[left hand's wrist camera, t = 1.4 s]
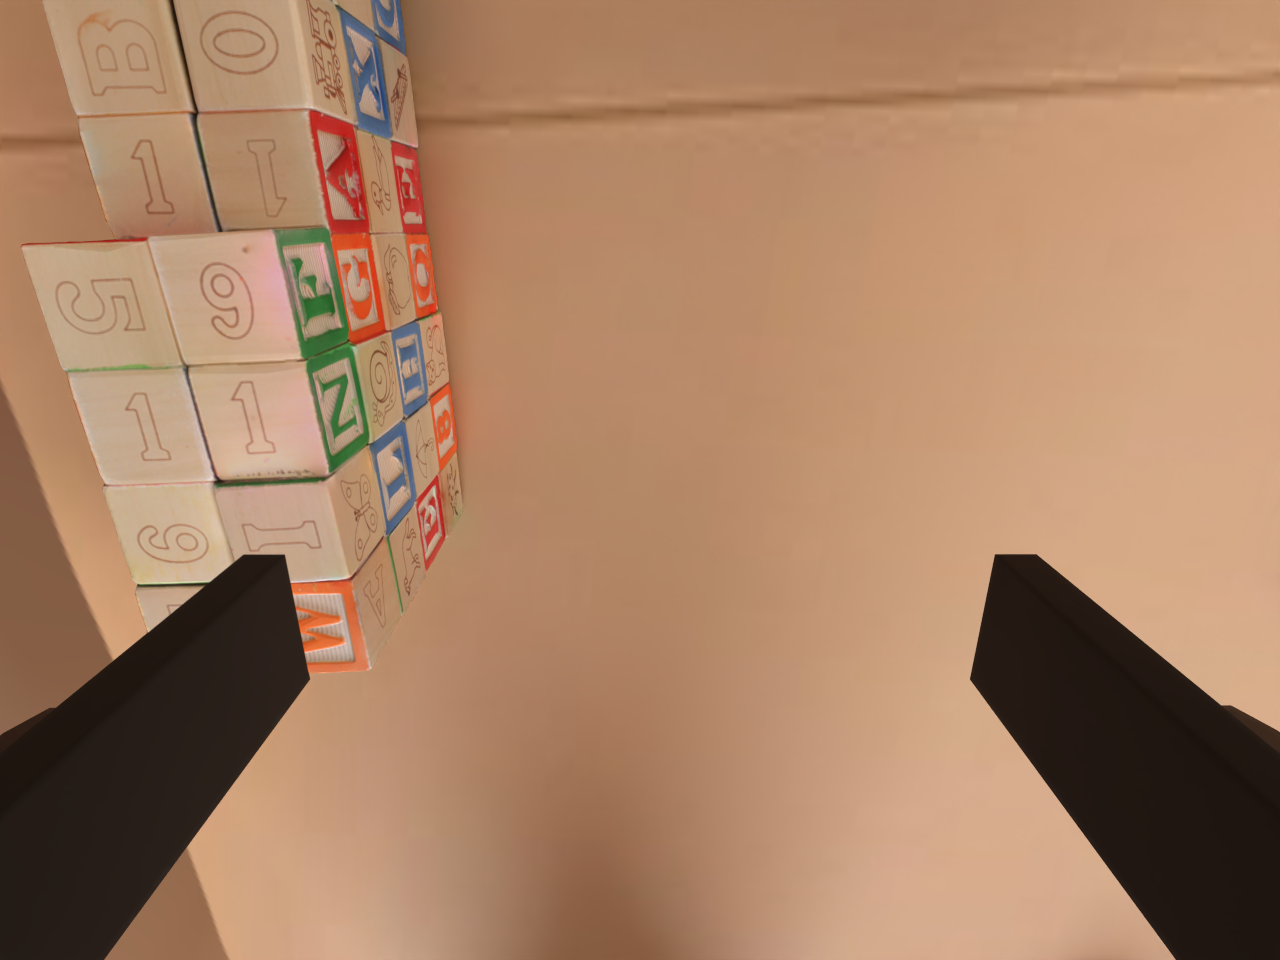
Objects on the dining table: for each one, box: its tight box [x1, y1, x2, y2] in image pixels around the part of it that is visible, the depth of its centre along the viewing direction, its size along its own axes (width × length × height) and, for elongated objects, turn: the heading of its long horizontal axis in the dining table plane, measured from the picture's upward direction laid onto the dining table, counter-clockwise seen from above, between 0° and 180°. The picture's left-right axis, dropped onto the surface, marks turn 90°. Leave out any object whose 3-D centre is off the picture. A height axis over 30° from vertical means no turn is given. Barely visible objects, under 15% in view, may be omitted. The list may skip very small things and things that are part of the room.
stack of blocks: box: [21, 0, 463, 673], centre depth 22 cm, size 21×6×12 cm, turn 2°
